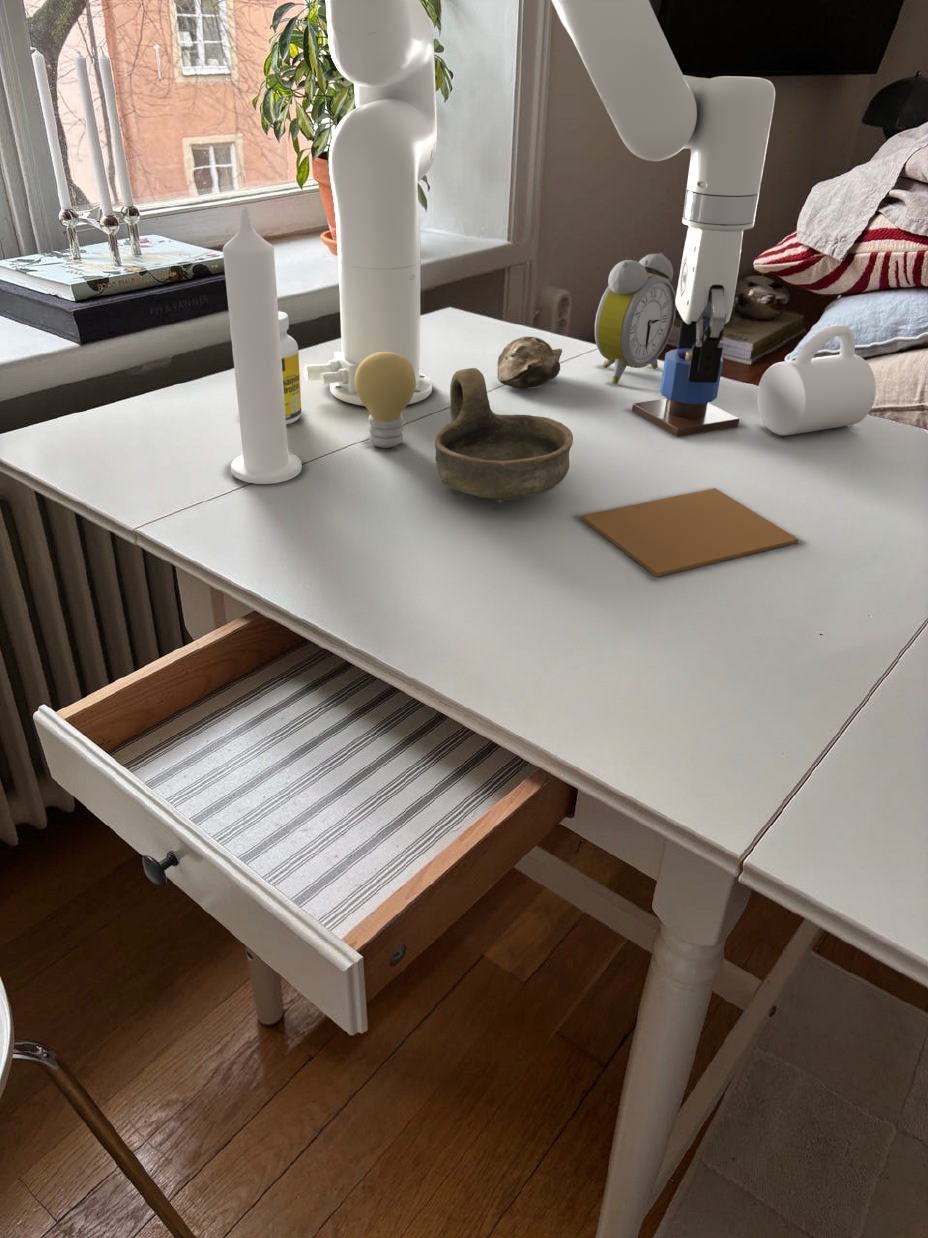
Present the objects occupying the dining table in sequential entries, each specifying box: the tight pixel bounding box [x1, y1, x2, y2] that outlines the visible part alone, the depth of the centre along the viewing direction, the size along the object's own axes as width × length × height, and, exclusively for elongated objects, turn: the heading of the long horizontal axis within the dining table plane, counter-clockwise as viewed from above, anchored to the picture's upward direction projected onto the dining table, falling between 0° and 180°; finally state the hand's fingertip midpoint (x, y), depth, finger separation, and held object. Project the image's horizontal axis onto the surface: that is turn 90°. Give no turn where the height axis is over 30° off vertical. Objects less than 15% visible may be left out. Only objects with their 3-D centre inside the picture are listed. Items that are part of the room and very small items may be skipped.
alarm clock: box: [594, 252, 677, 385], centre depth 124 cm, size 12×7×15 cm, turn 137°
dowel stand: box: [631, 350, 740, 438], centre depth 112 cm, size 9×9×8 cm
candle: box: [222, 206, 303, 485], centre depth 91 cm, size 7×7×25 cm
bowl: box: [434, 367, 574, 503], centre depth 94 cm, size 14×18×10 cm
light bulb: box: [355, 352, 416, 449], centre depth 102 cm, size 6×6×10 cm
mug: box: [756, 324, 877, 437], centre depth 110 cm, size 8×10×12 cm
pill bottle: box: [278, 310, 302, 425], centre depth 107 cm, size 6×6×12 cm
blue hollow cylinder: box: [659, 348, 724, 404], centre depth 111 cm, size 6×6×4 cm
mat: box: [581, 487, 800, 578], centre depth 89 cm, size 16×12×1 cm
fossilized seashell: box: [496, 336, 563, 390], centre depth 122 cm, size 8×7×10 cm
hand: (696, 367), depth 111 cm, fingers open, 9 cm apart
